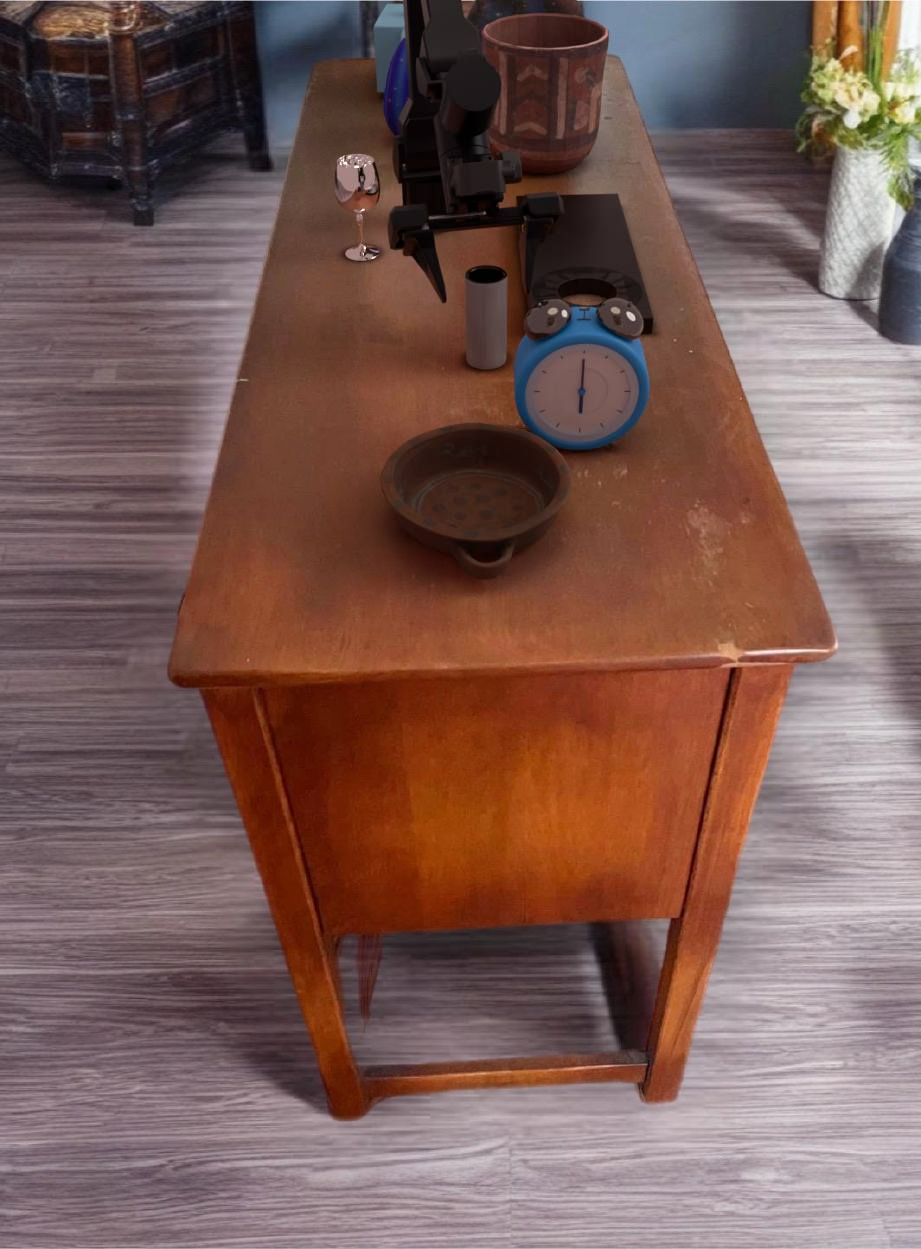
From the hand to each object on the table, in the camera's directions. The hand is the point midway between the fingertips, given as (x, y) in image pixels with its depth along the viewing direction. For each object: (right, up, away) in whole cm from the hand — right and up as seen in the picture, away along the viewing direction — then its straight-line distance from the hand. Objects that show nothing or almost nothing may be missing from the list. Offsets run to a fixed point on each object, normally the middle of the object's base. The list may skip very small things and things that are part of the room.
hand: (486, 297), depth 129 cm
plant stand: (+12, +10, +23) cm, 28 cm away
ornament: (-10, +40, +57) cm, 70 cm away
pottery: (+9, +34, +50) cm, 61 cm away
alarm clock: (+9, -16, -7) cm, 20 cm away
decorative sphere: (+8, +49, +66) cm, 83 cm away
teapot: (-10, +56, +75) cm, 94 cm away
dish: (-1, -26, -17) cm, 30 cm away
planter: (0, -6, +5) cm, 8 cm away
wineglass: (-16, +13, +26) cm, 33 cm away
